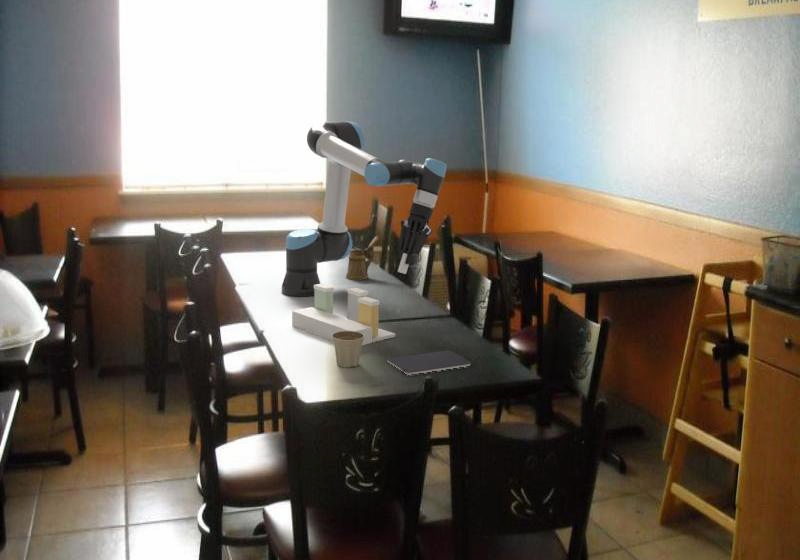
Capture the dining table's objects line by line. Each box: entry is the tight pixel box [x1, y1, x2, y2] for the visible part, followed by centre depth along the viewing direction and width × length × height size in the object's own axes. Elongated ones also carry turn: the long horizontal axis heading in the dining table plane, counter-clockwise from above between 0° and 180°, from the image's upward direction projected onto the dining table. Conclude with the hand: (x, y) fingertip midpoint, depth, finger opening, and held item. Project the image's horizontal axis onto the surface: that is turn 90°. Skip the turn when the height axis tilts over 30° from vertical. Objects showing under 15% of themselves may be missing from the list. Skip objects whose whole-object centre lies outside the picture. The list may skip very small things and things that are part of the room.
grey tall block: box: [346, 287, 369, 322], centre depth 266 cm, size 3×6×11 cm, turn 44°
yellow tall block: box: [358, 296, 381, 337], centre depth 255 cm, size 3×6×11 cm, turn 44°
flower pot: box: [331, 331, 365, 368], centre depth 232 cm, size 9×9×9 cm
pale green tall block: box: [313, 283, 335, 314], centre depth 270 cm, size 3×6×11 cm, turn 44°
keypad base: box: [291, 306, 396, 346], centre depth 263 cm, size 18×30×5 cm, turn 44°
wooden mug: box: [345, 234, 380, 281], centre depth 337 cm, size 9×14×18 cm, turn 99°
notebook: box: [386, 350, 472, 376], centre depth 235 cm, size 13×2×21 cm
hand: (401, 272), depth 272 cm, fingers closed
